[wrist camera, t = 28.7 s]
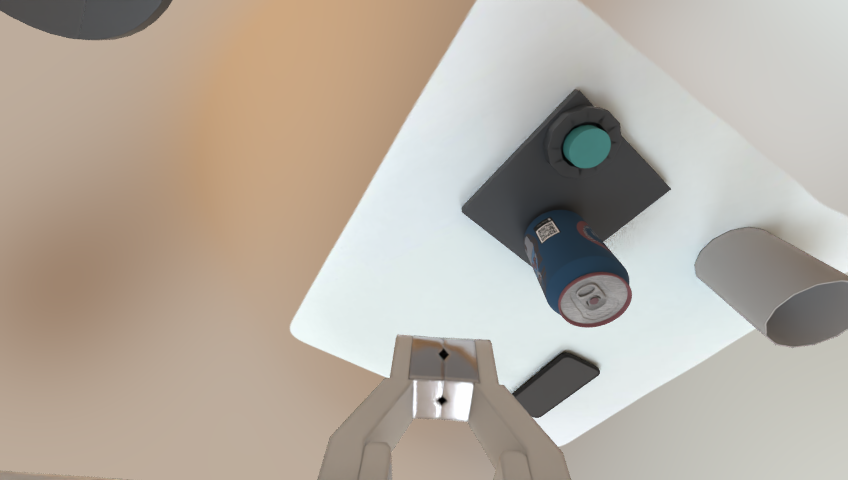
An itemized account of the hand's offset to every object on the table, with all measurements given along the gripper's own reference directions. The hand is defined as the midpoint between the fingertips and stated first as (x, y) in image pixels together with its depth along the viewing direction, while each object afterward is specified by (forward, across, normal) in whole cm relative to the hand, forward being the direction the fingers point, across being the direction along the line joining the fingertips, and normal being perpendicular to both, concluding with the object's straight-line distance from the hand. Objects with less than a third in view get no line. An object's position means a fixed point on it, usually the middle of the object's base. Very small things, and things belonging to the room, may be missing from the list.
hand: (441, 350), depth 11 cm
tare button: (+25, -13, -1) cm, 28 cm away
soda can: (+26, -13, +9) cm, 31 cm away
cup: (+27, -36, +12) cm, 47 cm away
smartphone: (+27, -20, +37) cm, 50 cm away
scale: (+27, -14, +5) cm, 31 cm away
